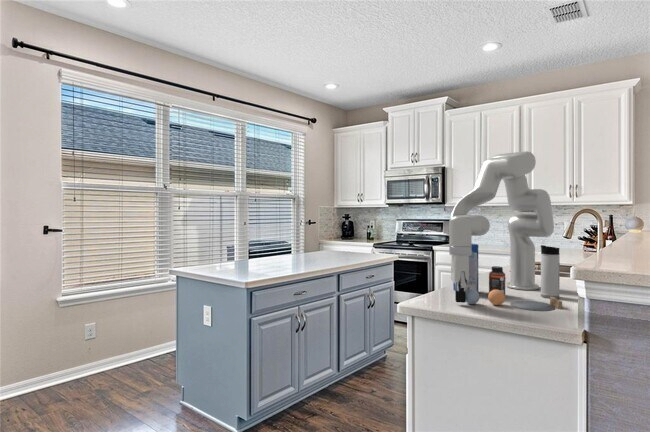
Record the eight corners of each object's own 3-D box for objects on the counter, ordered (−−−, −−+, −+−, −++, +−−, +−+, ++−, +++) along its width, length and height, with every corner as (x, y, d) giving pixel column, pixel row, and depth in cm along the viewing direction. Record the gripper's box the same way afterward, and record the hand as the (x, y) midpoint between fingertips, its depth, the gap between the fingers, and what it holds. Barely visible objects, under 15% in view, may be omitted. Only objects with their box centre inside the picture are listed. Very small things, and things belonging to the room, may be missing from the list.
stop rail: (550, 303, 144) (550, 296, 144) (553, 304, 144) (553, 297, 144) (558, 308, 137) (558, 301, 137) (562, 308, 137) (562, 301, 137)
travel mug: (536, 295, 157) (536, 244, 157) (552, 295, 158) (552, 244, 158) (546, 299, 151) (546, 246, 151) (563, 298, 152) (563, 245, 151)
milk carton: (453, 289, 169) (453, 242, 169) (467, 289, 170) (467, 242, 170) (463, 295, 160) (463, 244, 159) (478, 294, 160) (478, 244, 160)
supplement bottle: (507, 297, 155) (507, 268, 154) (490, 296, 156) (490, 267, 156) (503, 294, 161) (503, 265, 160) (487, 293, 162) (487, 265, 162)
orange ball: (486, 302, 146) (486, 287, 146) (502, 303, 145) (502, 288, 145) (490, 306, 141) (490, 291, 141) (507, 307, 140) (507, 291, 140)
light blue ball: (462, 286, 148) (477, 288, 147) (460, 301, 148) (475, 303, 147) (467, 289, 142) (482, 291, 142) (465, 304, 142) (480, 306, 142)
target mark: (505, 300, 149) (505, 300, 149) (545, 301, 147) (545, 301, 147) (517, 310, 135) (517, 309, 135) (562, 311, 133) (562, 310, 133)
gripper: (446, 248, 151) (446, 297, 151) (452, 253, 136) (452, 306, 137) (467, 248, 150) (467, 297, 150) (475, 253, 135) (475, 307, 135)
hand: (460, 301), depth 143 cm, fingers closed
